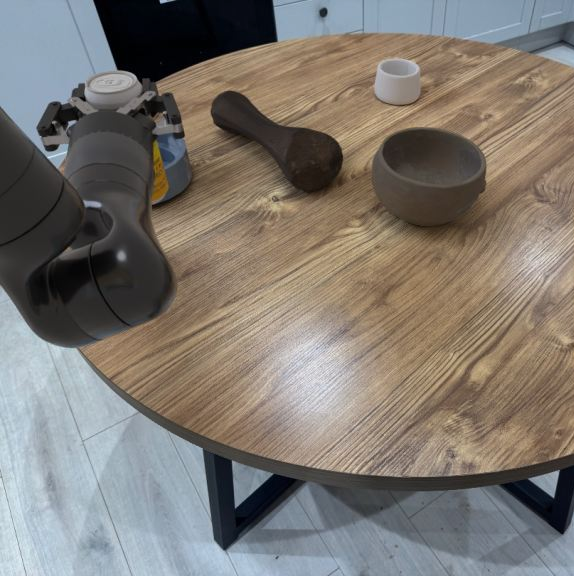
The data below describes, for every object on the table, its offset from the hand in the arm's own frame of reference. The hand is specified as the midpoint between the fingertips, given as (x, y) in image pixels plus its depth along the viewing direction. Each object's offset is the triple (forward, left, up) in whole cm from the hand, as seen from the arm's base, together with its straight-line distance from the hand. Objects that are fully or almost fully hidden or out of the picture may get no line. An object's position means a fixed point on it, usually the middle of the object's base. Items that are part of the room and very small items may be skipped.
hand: (116, 88), depth 65 cm
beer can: (+1, -2, -13) cm, 13 cm away
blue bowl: (-7, +17, -25) cm, 31 cm away
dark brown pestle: (+13, +25, -25) cm, 37 cm away
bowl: (+39, +12, -25) cm, 48 cm away
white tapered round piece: (+37, +51, -25) cm, 67 cm away
